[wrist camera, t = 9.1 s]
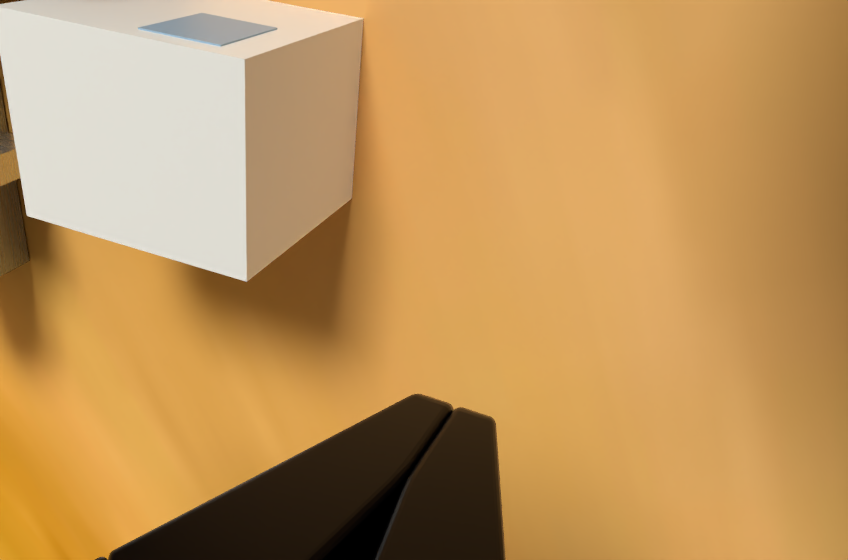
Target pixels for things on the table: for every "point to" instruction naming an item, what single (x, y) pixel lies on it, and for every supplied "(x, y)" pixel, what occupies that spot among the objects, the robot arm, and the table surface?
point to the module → (184, 122)
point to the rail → (10, 203)
